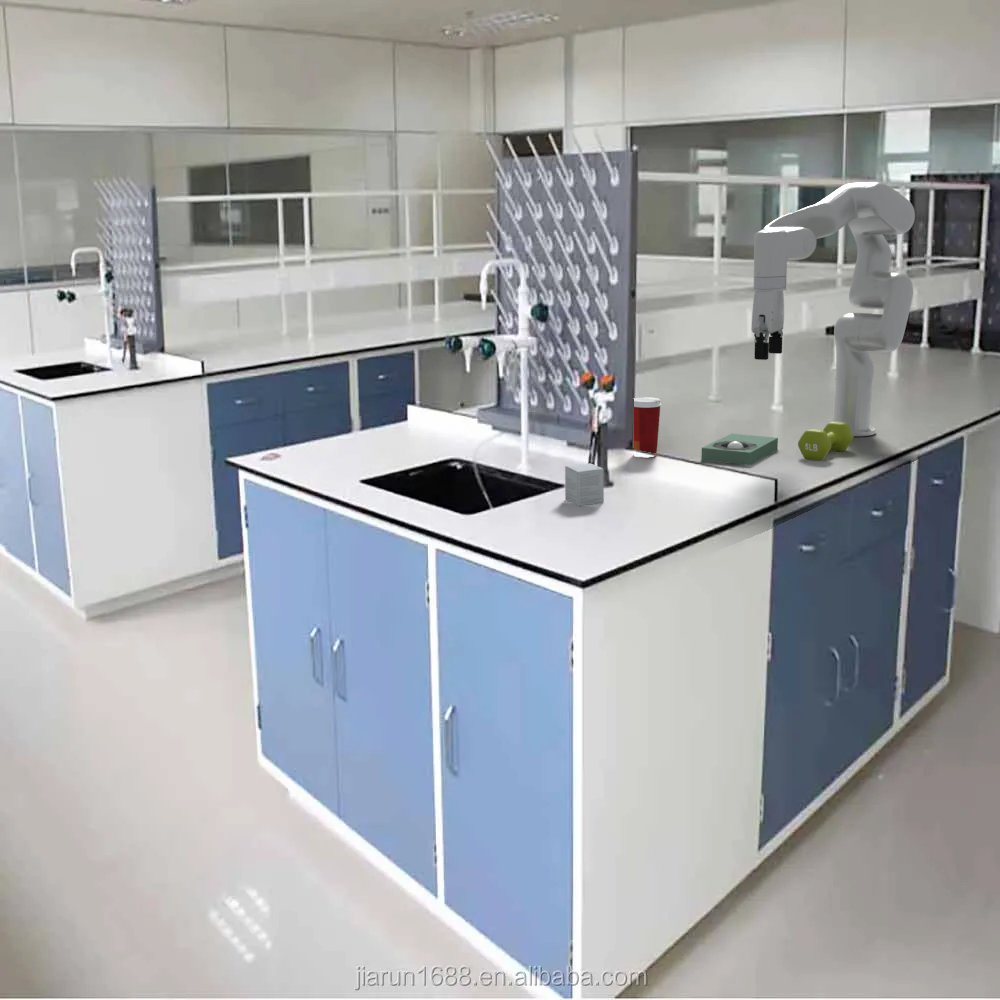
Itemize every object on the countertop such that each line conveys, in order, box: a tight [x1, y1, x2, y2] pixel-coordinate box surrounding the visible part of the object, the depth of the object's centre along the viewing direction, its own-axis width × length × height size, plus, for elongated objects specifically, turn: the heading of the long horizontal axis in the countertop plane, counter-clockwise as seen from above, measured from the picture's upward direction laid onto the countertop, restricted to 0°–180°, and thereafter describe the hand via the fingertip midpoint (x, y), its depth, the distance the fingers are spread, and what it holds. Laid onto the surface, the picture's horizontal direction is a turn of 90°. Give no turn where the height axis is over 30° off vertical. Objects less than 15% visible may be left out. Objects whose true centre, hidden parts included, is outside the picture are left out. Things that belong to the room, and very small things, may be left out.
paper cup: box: [633, 396, 663, 453], centre depth 259 cm, size 8×8×14 cm
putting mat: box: [700, 433, 779, 466], centre depth 260 cm, size 20×12×3 cm, turn 147°
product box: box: [564, 462, 605, 507], centre depth 219 cm, size 6×6×7 cm
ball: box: [727, 441, 744, 448], centre depth 257 cm, size 4×4×4 cm
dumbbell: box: [797, 420, 854, 461], centre depth 258 cm, size 16×8×7 cm, turn 138°
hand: (768, 356), depth 255 cm, fingers open, 9 cm apart
